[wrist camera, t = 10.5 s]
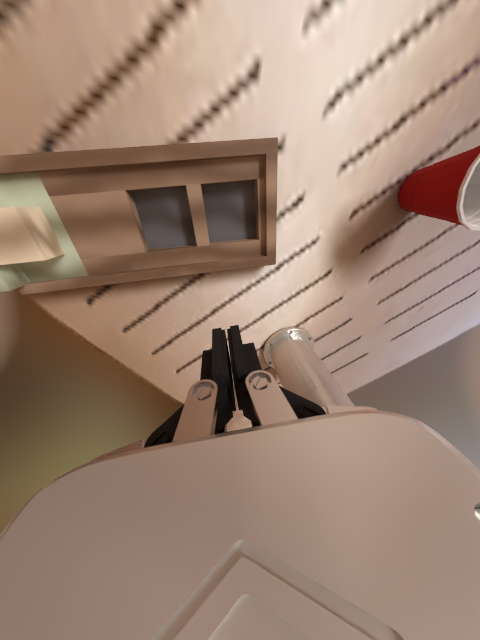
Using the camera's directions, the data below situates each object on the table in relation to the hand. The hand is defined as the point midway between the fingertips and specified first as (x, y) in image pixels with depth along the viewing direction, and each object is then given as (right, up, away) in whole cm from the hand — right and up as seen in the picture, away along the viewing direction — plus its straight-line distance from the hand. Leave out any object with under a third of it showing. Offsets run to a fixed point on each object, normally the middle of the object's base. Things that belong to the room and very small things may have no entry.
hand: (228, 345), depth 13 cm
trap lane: (-14, +17, +17) cm, 28 cm away
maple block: (-28, +14, +14) cm, 34 cm away
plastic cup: (+31, +24, +21) cm, 44 cm away
